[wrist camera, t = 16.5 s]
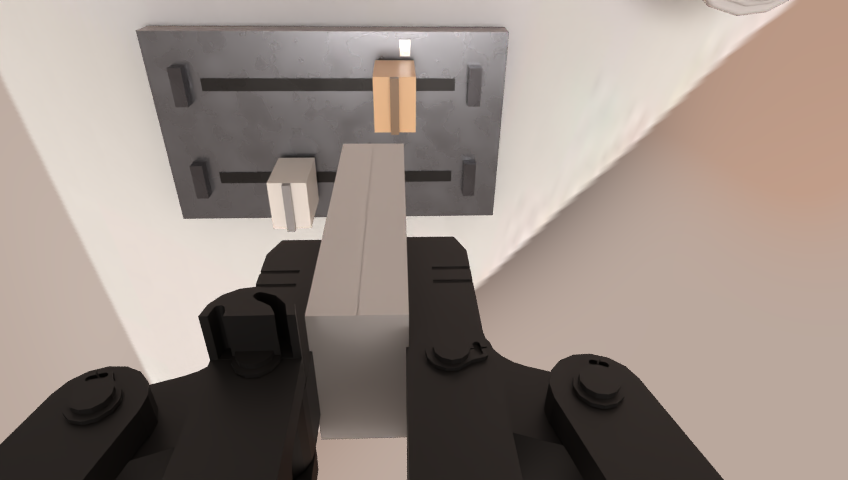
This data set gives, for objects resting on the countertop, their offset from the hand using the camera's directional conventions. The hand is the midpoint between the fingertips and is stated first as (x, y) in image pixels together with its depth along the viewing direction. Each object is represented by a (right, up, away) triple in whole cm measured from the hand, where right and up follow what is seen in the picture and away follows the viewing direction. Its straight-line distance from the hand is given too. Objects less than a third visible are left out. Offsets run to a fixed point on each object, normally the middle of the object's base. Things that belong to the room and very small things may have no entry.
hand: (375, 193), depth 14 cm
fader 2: (-1, +11, +28) cm, 31 cm away
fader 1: (-9, +4, +32) cm, 34 cm away
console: (-6, +9, +32) cm, 34 cm away
